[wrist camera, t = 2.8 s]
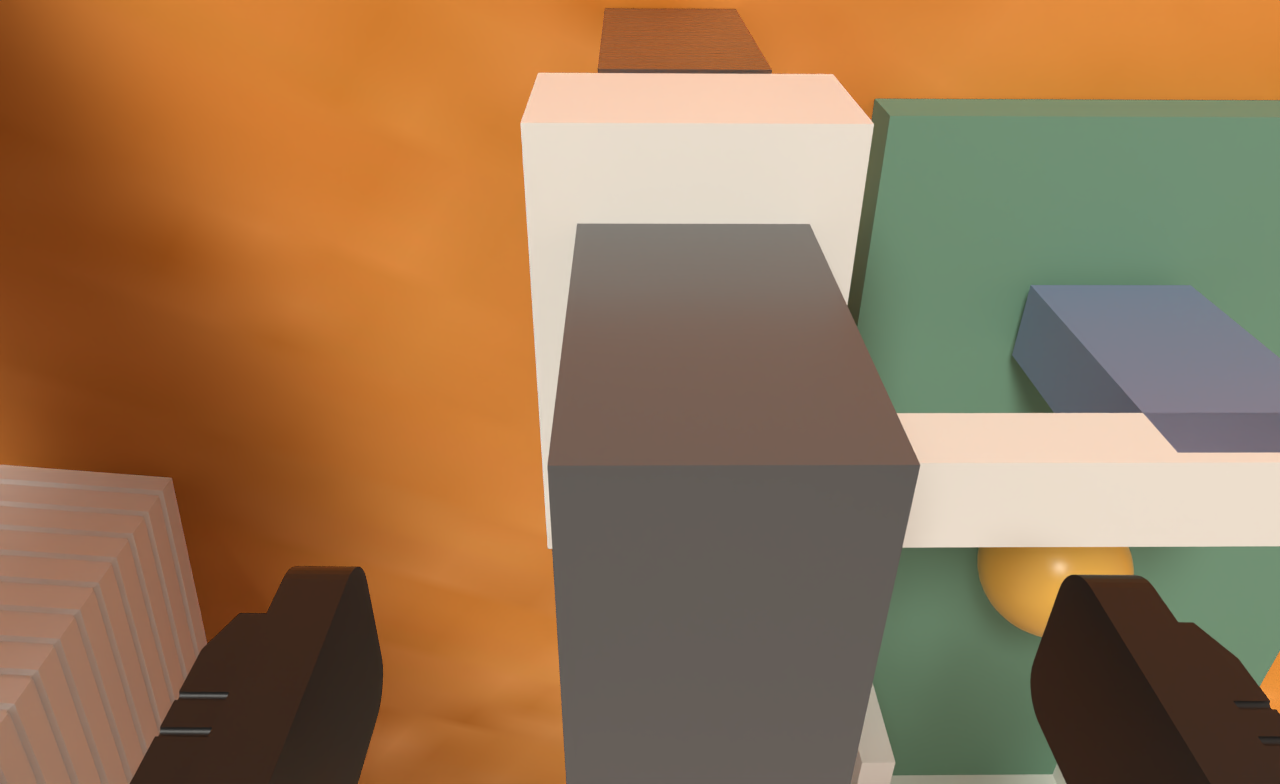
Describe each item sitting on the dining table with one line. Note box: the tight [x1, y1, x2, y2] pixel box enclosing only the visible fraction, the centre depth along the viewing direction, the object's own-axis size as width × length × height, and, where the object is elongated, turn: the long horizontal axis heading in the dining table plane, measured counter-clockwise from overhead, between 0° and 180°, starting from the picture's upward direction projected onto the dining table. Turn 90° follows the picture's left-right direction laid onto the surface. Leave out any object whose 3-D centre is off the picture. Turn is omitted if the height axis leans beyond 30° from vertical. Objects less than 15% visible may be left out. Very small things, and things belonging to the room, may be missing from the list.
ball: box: [977, 547, 1134, 637], centre depth 25 cm, size 4×4×4 cm
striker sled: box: [521, 73, 1280, 784], centre depth 15 cm, size 8×16×13 cm, turn 90°
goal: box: [851, 684, 1066, 784], centre depth 30 cm, size 8×10×4 cm
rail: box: [598, 8, 772, 74], centre depth 25 cm, size 28×3×6 cm, turn 0°
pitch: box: [847, 99, 1280, 775], centre depth 28 cm, size 26×16×2 cm, turn 0°
